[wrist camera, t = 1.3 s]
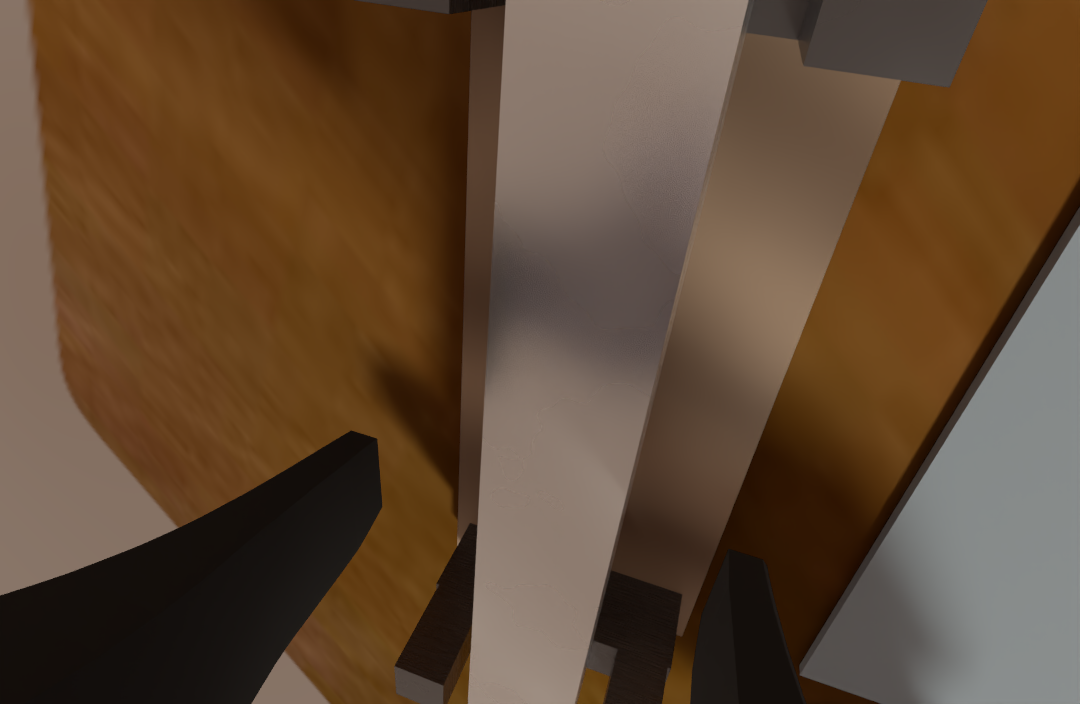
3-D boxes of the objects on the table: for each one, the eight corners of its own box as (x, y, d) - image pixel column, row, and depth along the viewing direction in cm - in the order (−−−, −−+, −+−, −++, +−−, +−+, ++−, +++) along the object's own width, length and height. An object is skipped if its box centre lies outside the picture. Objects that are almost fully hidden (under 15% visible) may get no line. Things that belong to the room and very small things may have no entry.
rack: (685, 609, 23) (656, 812, 18) (469, 535, 25) (380, 697, 20) (959, -106, 11) (1140, -174, 6) (498, -145, 13) (285, -226, 7)
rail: (583, 678, 21) (558, 771, 18) (501, 647, 22) (466, 733, 19) (792, -151, 9) (796, -194, 6) (585, -166, 9) (517, -212, 7)
